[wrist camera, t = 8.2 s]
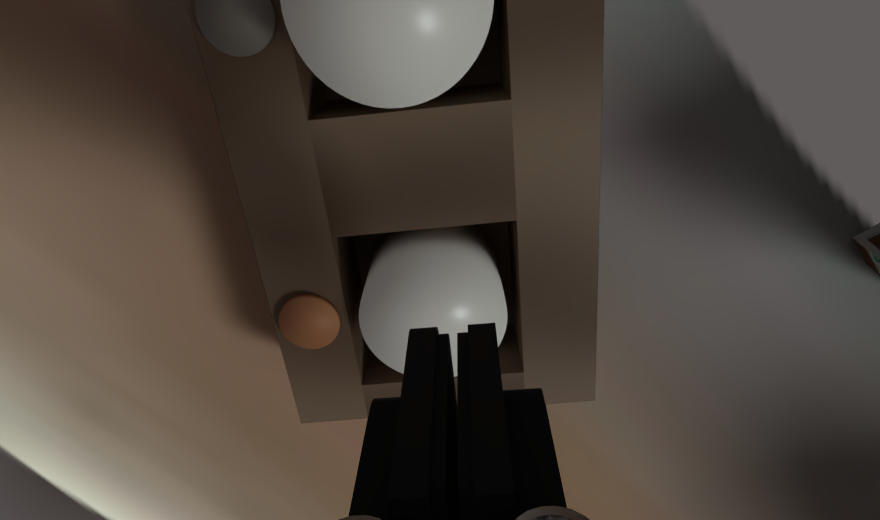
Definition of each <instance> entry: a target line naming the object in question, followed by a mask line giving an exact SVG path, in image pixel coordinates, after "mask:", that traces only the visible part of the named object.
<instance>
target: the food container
mask: <svg viewBox="0 0 880 520" xmlns="http://www.w3.org/2000/svg"><path fill="white" fill-rule="evenodd" d="M852 239H853V240H854V242H855V244H856V246H857V247H858V249H859V251H860V253H861V254H862V256H863V258H864V260H865V262H866V263H867V264H868V265H869V266H870V267H871V268H872V269H873V270H875V271H876V272H877V273H878V274H879V275H880V223H879V224H877V225H875V226H874V227H872V228H870V229H868V230H866V231H864V232H862V233H860V234H858V235H856V236H854V237H852Z"/></svg>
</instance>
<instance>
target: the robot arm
mask: <svg viewBox="0 0 880 520" xmlns="http://www.w3.org/2000/svg"><path fill="white" fill-rule="evenodd" d="M340 520H589V519H588V518H587V517H586V516H584V515H582V514H580V513H578V512H576V511H574V510H572V509H568V508H567V507H566V502H565V497H564V492H563V487H562V482H561V477H560V473H559V468H558V463H557V458H556V453H555V448H554V444H553V439H552V434H551V429H550V424H549V419H548V414H547V410H546V405H545V400H544V395H543V391H542V389H541V388H533V389H517V390H503V388H502V379H501V370H500V361H499V352H498V343H497V334H496V325H495V323H483V324H469V325H468V332H461V333H457V398H456V390H455V381H454V372H453V363H452V355H451V346H450V338H449V333H447V334H439V331H438V327H428V328H414V329H410V330H409V335H408V343H407V351H406V358H405V366H404V374H403V381H402V389H401V397H390V398H375V399H373V400H372V402H371V406H370V410H369V415H368V421H367V426H366V431H365V436H364V441H363V446H362V451H361V456H360V461H359V466H358V471H357V477H356V482H355V487H354V492H353V497H352V502H351V507H350V512H349V517H346V518H343V519H340Z"/></svg>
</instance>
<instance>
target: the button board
mask: <svg viewBox="0 0 880 520" xmlns="http://www.w3.org/2000/svg"><path fill="white" fill-rule="evenodd" d="M186 3H187V7H188V10H189V14H190V18H191V21H192V25H193V29H194V32H195V36H196V40H197V43H198V47H199V51H200V54H201V58H202V62H203V65H204V69H205V73H206V76H207V80H208V84H209V87H210V91H211V95H212V98H213V102H214V106H215V109H216V113H217V117H218V120H219V124H220V128H221V131H222V135H223V139H224V142H225V146H226V150H227V153H228V157H229V160H230V164H231V168H232V171H233V175H234V179H235V182H236V186H237V190H238V193H239V197H240V201H241V204H242V208H243V212H244V215H245V219H246V223H247V226H248V230H249V234H250V237H251V241H252V245H253V248H254V252H255V256H256V259H257V263H258V267H259V270H260V274H261V278H262V281H263V285H264V289H265V292H266V296H267V300H268V303H269V307H270V311H271V314H272V318H273V322H274V325H275V329H276V333H277V336H278V340H279V344H280V347H281V351H282V355H283V358H284V362H285V366H286V369H287V373H288V377H289V380H290V384H291V388H292V391H293V395H294V399H295V402H296V406H297V410H298V413H299V417H300V421H301V423H311V422H324V421H337V420H350V419H362V418H368V415H369V410H370V406H371V402H372V400H373V399H375V398H390V397H401V389H402V381H403V374H402V373H400V372H398V371H396V370H394V369H392V368H390V367H389V366H387V365H386V364H384V363H383V362H382V361H381V360H380V359H378V358H377V357H376V356H375V355H374V353H373V352H372V351H371V350H370V348H369V347H368V345H367V343H366V342H365V340H364V337H363V335H362V332H361V329H360V323H359V307H360V302H361V298H362V294H363V290H364V286H365V282H366V278H367V275H368V271H369V267H370V263H371V259H372V255H373V252H374V249H375V247H376V245H377V243H378V241H379V240H380V238H381V237H382V236H383V234H384V233H388V232H399V231H409V230H420V229H431V228H441V227H452V226H463V225H473V224H474V225H475V226H477V227H478V228H479V229H480V230H481V231H482V232H483V233H484V234H485V235H486V236H487V238H488V239H489V241H490V242H491V244H492V246H493V248H494V250H495V254H496V257H497V261H498V266H499V271H500V276H501V281H502V286H503V291H504V296H505V301H506V306H507V326H506V331H505V334H504V337H503V339H502V341H501V343H500V345H499V347H498V352H499V361H500V370H501V379H502V388H503V390H517V389H533V388H541V389H542V391H543V395H544V400H545V404H554V403H566V402H579V401H592V400H595V378H596V335H597V292H598V249H599V206H600V163H601V120H602V77H603V34H604V0H494V6H493V14H492V20H491V24H490V28H489V32H488V35H487V38H486V40H485V43H484V46H483V48H482V50H481V51H480V53H479V55H478V57H477V59H476V60H475V62H474V63H473V65H472V66H471V68H470V69H469V70H468V71H467V73H466V74H465V75H464V76H463V77H462V78H461V79H460V80H459V81H458V82H457V83H456V84H455V85H453V86H452V87H451V88H450V89H449V90H447V91H445V92H444V93H442V94H441V95H439V96H438V97H435V98H433V99H431V100H429V101H427V102H424V103H421V104H418V105H415V106H409V107H404V108H379V107H372V106H368V105H364V104H361V103H358V102H355V101H352V100H350V99H348V98H346V97H344V96H342V95H340V94H338V93H337V92H335V91H334V90H333V89H331V88H330V87H328V86H327V85H326V84H324V83H323V82H322V81H321V80H320V79H319V78H318V77H317V76H316V75H315V74H314V73H313V72H312V71H311V70H310V69H309V67H308V66H307V65H306V64H305V62H304V61H303V59H302V58H301V57H300V55H299V54H298V52H297V50H296V48H295V46H294V44H293V43H292V41H291V38H290V36H289V33H288V31H287V28H286V25H285V22H284V18H283V14H282V9H281V3H280V0H186ZM454 381H455V390H456V398H457V376H456V377H454Z"/></svg>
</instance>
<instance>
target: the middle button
mask: <svg viewBox="0 0 880 520" xmlns="http://www.w3.org/2000/svg"><path fill="white" fill-rule="evenodd" d="M280 3H281V9H282V14H283V18H284V22H285V25H286V28H287V31H288V33H289V36H290V38H291V41H292V43H293V44H294V46H295V48H296V50H297V52H298V54H299V55H300V57H301V58H302V59H303V61H304V62H305V64H306V65H307V66H308V67H309V69H310V70H311V71H312V72H313V73H314V74H315V75H316V76H317V77H318V78H319V79H320V80H321V81H322V82H323V83H324V84H326V85H327V86H328V87H330V88H331V89H333V90H334V91H335V92H337V93H338V94H340V95H342V96H344V97H346V98H348V99H350V100H352V101H355V102H358V103H361V104H364V105H368V106H372V107H379V108H404V107H409V106H415V105H418V104H421V103H424V102H427V101H429V100H431V99H433V98H435V97H438V96H439V95H441V94H442V93H444V92H445V91H447V90H449V89H450V88H451V87H452V86H453V85H455V84H456V83H457V82H458V81H459V80H460V79H461V78H462V77H463V76H464V75H465V74H466V73H467V71H468V70H469V69H470V68H471V66H472V65H473V63H474V62H475V60H476V59H477V57H478V55H479V53H480V51H481V50H482V48H483V46H484V43H485V40H486V38H487V35H488V32H489V28H490V24H491V20H492V14H493V6H494V0H280Z"/></svg>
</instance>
